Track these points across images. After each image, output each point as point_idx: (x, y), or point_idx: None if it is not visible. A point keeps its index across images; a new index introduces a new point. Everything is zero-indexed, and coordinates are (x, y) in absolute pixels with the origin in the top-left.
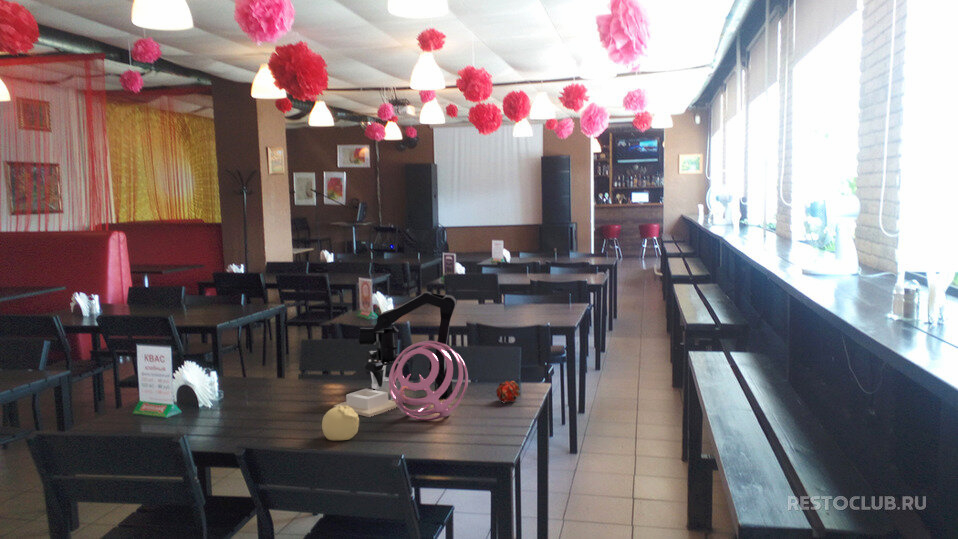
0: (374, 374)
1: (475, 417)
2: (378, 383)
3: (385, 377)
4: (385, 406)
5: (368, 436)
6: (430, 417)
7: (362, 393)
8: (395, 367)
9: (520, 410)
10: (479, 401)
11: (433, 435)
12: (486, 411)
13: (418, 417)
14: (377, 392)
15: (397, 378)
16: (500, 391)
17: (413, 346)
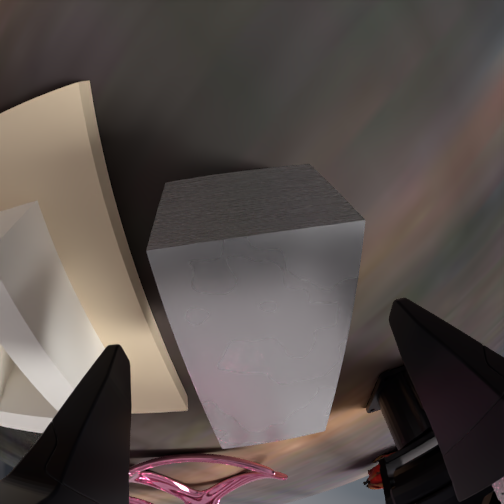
0: (25, 476)
1: (264, 488)
2: (93, 378)
3: (331, 278)
4: None
5: (13, 449)
6: (168, 492)
7: None
8: (500, 411)
9: (346, 479)
10: (378, 441)
11: (133, 495)
12: (312, 477)
13: (144, 484)
14: (57, 405)
15: (404, 335)
16: (378, 485)
17: None
